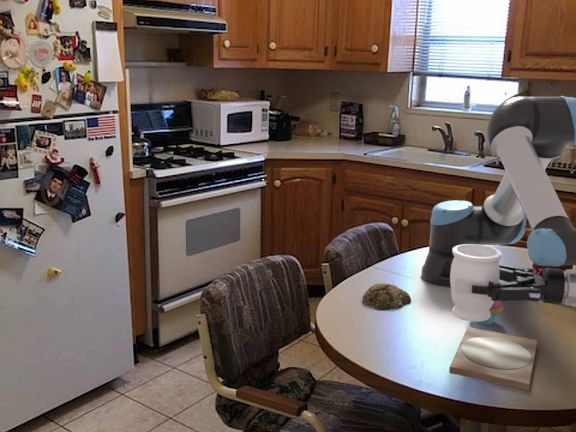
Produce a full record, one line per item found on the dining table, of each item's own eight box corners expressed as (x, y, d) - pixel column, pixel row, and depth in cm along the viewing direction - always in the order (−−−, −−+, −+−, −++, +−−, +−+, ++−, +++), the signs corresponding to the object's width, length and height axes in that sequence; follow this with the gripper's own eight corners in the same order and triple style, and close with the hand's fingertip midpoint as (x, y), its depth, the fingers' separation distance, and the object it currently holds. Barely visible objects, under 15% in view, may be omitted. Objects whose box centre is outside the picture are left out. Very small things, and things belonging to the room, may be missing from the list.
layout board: (467, 332, 151) (467, 326, 151) (536, 345, 145) (537, 339, 144) (449, 372, 132) (449, 365, 132) (528, 390, 126) (529, 383, 125)
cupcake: (465, 324, 156) (469, 280, 152) (467, 312, 163) (471, 269, 160) (501, 330, 153) (506, 284, 150) (502, 316, 160) (506, 273, 157)
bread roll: (377, 290, 179) (378, 273, 177) (416, 301, 171) (417, 284, 170) (353, 303, 169) (353, 286, 168) (392, 315, 161) (393, 297, 160)
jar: (497, 326, 131) (504, 260, 127) (447, 321, 133) (453, 256, 130) (493, 307, 141) (499, 245, 137) (446, 303, 143) (451, 241, 140)
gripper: (570, 325, 121) (454, 313, 126) (552, 284, 143) (453, 275, 148) (575, 289, 119) (456, 278, 124) (556, 253, 141) (456, 245, 146)
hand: (455, 276), depth 136 cm, fingers closed on jar, 10 cm apart
